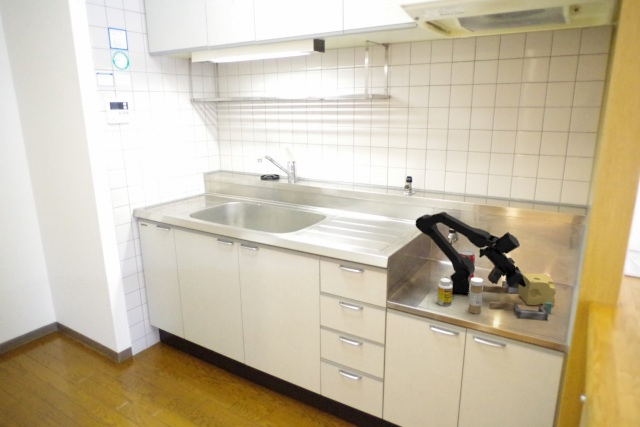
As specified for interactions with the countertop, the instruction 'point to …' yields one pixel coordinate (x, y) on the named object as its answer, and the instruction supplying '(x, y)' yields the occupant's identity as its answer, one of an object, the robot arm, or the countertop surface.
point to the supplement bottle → (445, 292)
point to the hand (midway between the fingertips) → (524, 286)
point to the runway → (520, 313)
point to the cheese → (537, 289)
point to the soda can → (471, 257)
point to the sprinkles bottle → (475, 295)
